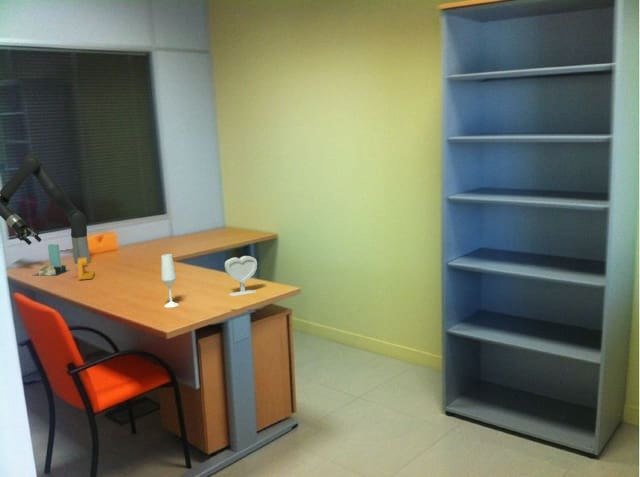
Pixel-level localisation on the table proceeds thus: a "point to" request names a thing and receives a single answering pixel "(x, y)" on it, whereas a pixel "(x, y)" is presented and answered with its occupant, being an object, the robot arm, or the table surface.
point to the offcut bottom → (47, 272)
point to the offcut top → (46, 268)
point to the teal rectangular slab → (54, 255)
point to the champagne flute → (168, 275)
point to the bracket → (81, 269)
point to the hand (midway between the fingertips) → (35, 242)
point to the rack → (58, 271)
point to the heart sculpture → (241, 271)
